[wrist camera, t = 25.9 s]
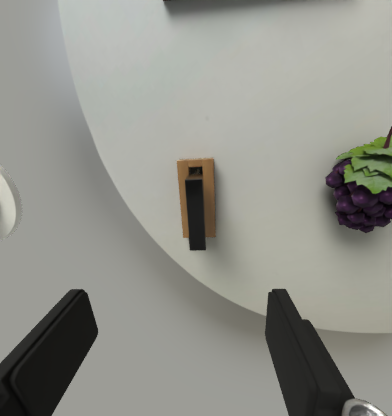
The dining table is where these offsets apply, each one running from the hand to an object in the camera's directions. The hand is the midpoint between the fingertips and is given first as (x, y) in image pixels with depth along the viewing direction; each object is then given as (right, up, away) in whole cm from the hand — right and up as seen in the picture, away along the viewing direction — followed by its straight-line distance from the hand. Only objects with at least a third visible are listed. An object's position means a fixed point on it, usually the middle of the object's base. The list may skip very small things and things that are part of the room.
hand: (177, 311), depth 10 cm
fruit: (+24, +10, +19) cm, 32 cm away
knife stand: (+1, +7, +21) cm, 22 cm away
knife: (+2, +7, +21) cm, 22 cm away
